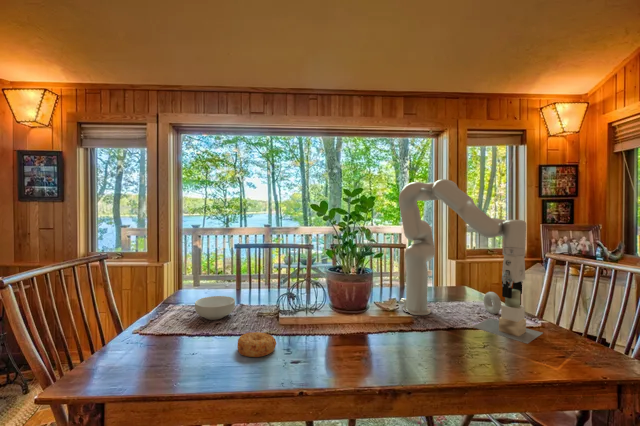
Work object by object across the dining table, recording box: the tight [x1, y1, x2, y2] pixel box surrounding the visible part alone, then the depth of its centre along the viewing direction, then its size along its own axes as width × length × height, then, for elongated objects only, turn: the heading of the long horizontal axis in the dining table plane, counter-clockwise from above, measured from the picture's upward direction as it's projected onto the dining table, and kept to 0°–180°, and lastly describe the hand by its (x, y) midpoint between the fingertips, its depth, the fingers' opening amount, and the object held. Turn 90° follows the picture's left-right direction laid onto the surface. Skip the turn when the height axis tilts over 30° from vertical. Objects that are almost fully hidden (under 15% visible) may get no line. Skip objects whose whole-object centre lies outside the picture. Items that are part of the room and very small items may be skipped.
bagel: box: [237, 331, 277, 358], centre depth 109 cm, size 13×14×5 cm
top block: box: [500, 303, 526, 322], centre depth 125 cm, size 6×6×5 cm
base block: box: [498, 316, 527, 336], centre depth 125 cm, size 7×7×5 cm
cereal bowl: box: [194, 295, 236, 321], centre depth 141 cm, size 17×17×7 cm
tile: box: [471, 318, 544, 345], centre depth 127 cm, size 20×16×1 cm
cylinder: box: [504, 288, 521, 308], centre depth 125 cm, size 5×5×6 cm
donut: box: [483, 291, 502, 315], centre depth 148 cm, size 10×4×10 cm, turn 7°
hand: (512, 295), depth 125 cm, fingers open, 9 cm apart
